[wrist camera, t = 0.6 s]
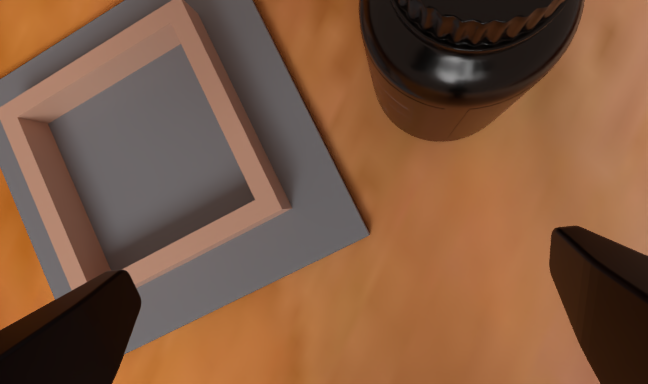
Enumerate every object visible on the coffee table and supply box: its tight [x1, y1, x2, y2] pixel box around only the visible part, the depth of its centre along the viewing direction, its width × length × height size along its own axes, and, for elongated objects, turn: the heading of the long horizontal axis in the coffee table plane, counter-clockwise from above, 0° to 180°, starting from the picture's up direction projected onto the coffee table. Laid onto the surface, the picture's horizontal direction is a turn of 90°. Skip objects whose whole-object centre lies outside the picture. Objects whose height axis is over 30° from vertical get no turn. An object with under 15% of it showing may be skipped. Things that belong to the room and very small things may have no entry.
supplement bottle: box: [359, 0, 585, 142], centre depth 15 cm, size 7×7×12 cm
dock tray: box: [0, 0, 370, 354], centre depth 22 cm, size 18×18×3 cm
